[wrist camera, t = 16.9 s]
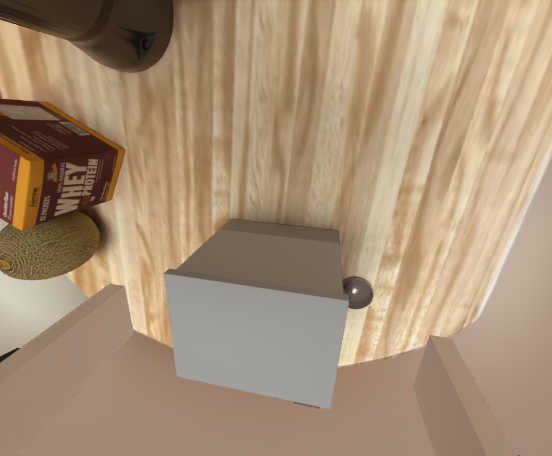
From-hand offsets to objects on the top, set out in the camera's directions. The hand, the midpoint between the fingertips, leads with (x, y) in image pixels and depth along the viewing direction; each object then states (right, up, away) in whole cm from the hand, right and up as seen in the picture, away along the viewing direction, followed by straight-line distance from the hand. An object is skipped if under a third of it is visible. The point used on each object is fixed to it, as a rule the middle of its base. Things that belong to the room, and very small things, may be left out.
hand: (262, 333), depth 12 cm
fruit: (-36, +5, +40) cm, 54 cm away
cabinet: (+1, -1, +35) cm, 35 cm away
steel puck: (+14, -6, +34) cm, 38 cm away
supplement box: (-33, +18, +35) cm, 51 cm away
